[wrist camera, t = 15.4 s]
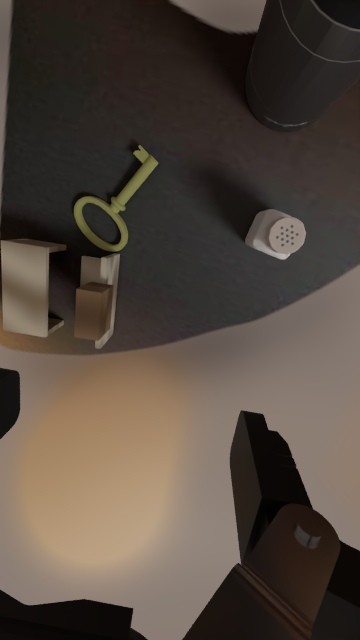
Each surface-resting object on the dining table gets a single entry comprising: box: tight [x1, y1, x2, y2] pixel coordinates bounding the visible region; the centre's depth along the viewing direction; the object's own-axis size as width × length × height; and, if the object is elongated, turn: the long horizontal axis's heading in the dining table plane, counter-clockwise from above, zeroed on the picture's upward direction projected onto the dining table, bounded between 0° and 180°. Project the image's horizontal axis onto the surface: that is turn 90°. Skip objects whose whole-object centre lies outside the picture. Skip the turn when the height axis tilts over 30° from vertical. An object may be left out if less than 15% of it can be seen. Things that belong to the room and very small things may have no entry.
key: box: [74, 145, 158, 252], centre depth 35 cm, size 7×12×2 cm, turn 154°
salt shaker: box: [245, 209, 306, 259], centre depth 31 cm, size 4×4×10 cm
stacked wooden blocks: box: [74, 253, 120, 349], centre depth 34 cm, size 10×5×9 cm, turn 171°
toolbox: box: [1, 239, 66, 337], centre depth 37 cm, size 10×5×5 cm, turn 171°
